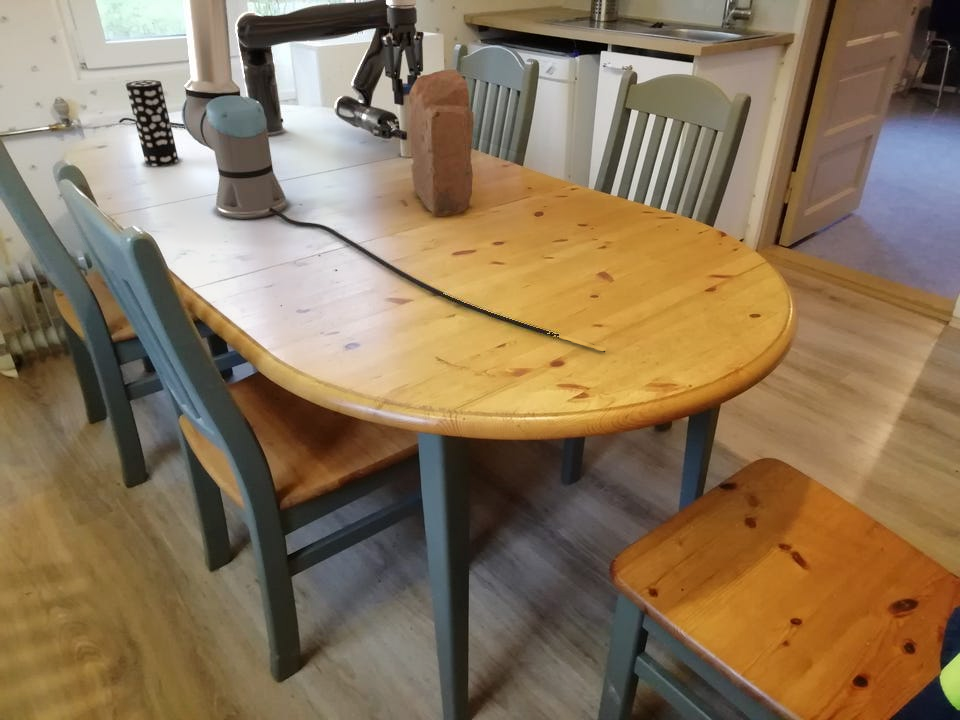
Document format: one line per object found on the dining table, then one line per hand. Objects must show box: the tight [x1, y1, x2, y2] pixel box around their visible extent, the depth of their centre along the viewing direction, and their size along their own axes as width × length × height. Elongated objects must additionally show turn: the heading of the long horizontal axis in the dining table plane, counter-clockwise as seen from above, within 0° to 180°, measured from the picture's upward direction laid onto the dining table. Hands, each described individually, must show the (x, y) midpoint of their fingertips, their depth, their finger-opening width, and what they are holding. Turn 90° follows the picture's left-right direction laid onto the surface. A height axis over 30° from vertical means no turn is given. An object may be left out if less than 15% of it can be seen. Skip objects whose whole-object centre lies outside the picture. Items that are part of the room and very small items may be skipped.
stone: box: [409, 69, 475, 217], centre depth 155 cm, size 22×11×28 cm, turn 18°
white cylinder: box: [398, 94, 412, 158], centre depth 190 cm, size 4×4×18 cm
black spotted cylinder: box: [125, 79, 179, 167], centre depth 181 cm, size 8×8×20 cm
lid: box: [403, 82, 413, 94], centre depth 185 cm, size 5×5×2 cm
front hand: (405, 102), depth 187 cm, fingers closed on lid, 5 cm apart
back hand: (412, 134), depth 189 cm, fingers closed on white cylinder, 4 cm apart
